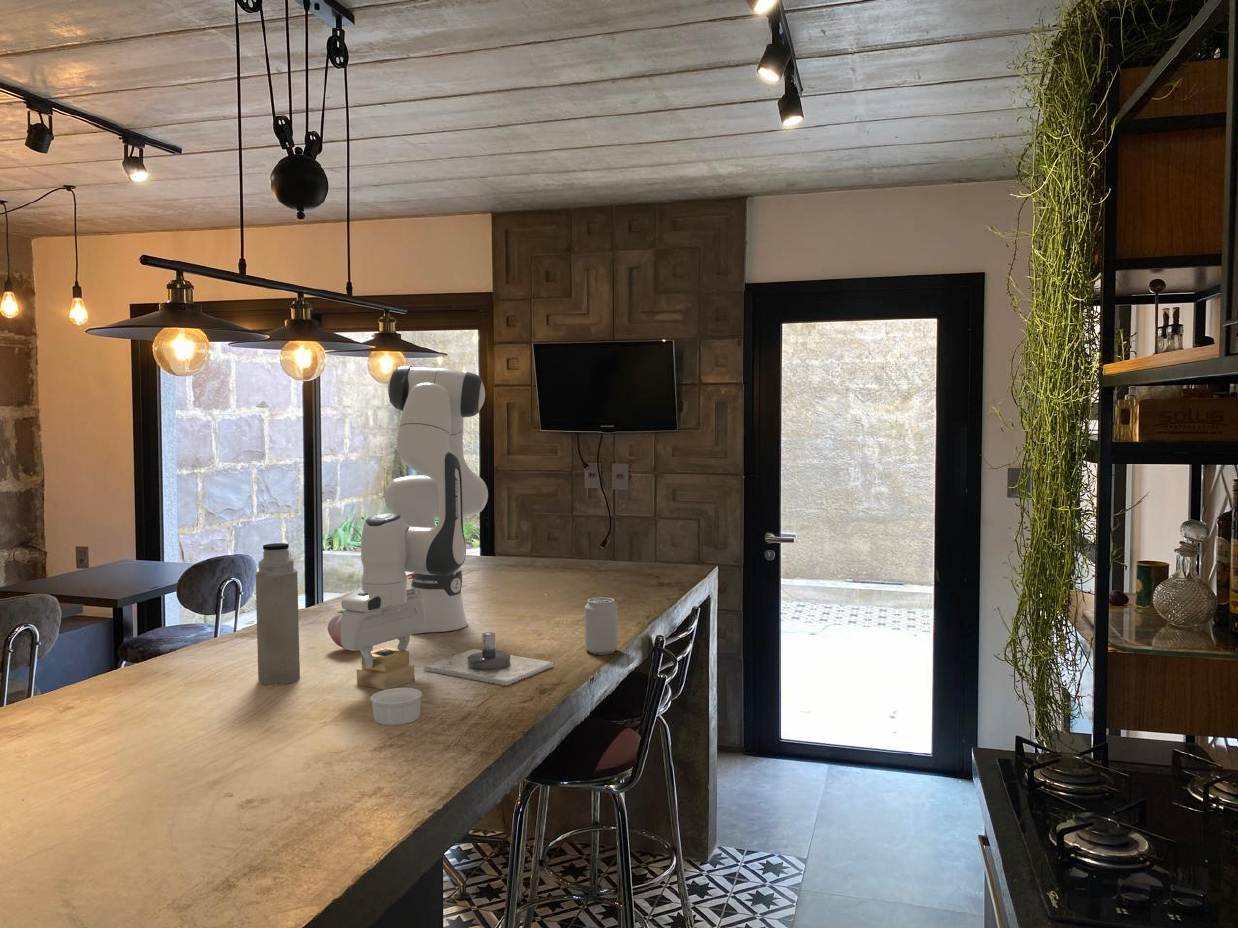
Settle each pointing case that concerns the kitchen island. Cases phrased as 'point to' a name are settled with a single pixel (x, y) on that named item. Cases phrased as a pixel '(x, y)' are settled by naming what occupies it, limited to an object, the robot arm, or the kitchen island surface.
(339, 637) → the decorative fruit
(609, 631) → the can
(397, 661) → the tan square hollow frame
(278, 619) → the thermos bottle
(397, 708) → the ramekin
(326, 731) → the kitchen island surface
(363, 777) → the kitchen island surface
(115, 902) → the kitchen island surface
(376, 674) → the stand
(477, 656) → the stone base with peg
